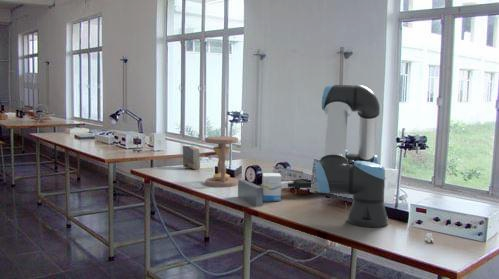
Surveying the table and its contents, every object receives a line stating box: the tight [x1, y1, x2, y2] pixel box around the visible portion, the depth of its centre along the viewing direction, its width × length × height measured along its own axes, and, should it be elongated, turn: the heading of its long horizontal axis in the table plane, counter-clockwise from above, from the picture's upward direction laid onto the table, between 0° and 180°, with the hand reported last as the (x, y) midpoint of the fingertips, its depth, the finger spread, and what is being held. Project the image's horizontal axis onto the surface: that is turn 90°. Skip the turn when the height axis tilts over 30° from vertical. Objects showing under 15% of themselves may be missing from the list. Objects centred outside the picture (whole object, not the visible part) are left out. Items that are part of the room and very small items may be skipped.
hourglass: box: [204, 135, 239, 188], centre depth 251 cm, size 18×18×25 cm
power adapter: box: [424, 232, 435, 244], centre depth 159 cm, size 3×3×3 cm
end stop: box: [237, 179, 264, 207], centre depth 214 cm, size 20×5×8 cm, turn 25°
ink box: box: [261, 172, 282, 202], centre depth 218 cm, size 8×8×12 cm
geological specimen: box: [182, 145, 201, 170], centre depth 298 cm, size 11×6×15 cm, turn 45°
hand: (280, 185), depth 221 cm, fingers closed
